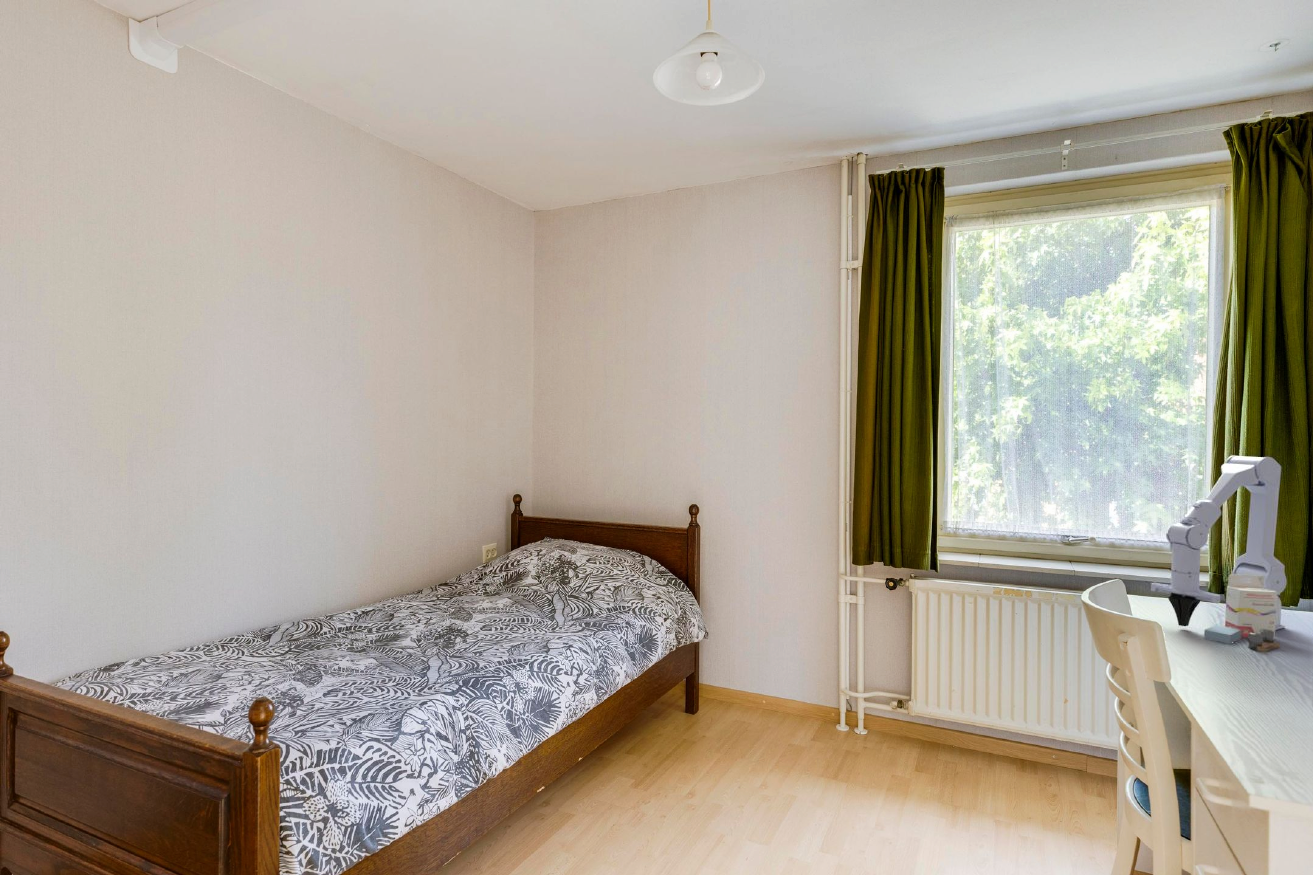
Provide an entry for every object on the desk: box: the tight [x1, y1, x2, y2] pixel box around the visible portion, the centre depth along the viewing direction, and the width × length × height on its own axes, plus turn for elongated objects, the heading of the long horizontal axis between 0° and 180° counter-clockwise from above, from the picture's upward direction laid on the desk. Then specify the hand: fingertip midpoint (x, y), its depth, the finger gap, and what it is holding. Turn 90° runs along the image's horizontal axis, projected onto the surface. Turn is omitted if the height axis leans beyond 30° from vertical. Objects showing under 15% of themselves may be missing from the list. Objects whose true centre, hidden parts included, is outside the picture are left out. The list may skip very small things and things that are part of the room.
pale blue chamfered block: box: [1203, 624, 1242, 645], centre depth 171 cm, size 8×5×2 cm, turn 126°
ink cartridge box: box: [1224, 573, 1278, 640], centre depth 174 cm, size 9×5×15 cm, turn 84°
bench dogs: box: [1247, 629, 1280, 653], centre depth 164 cm, size 8×3×4 cm, turn 120°
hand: (1183, 625), depth 179 cm, fingers closed
